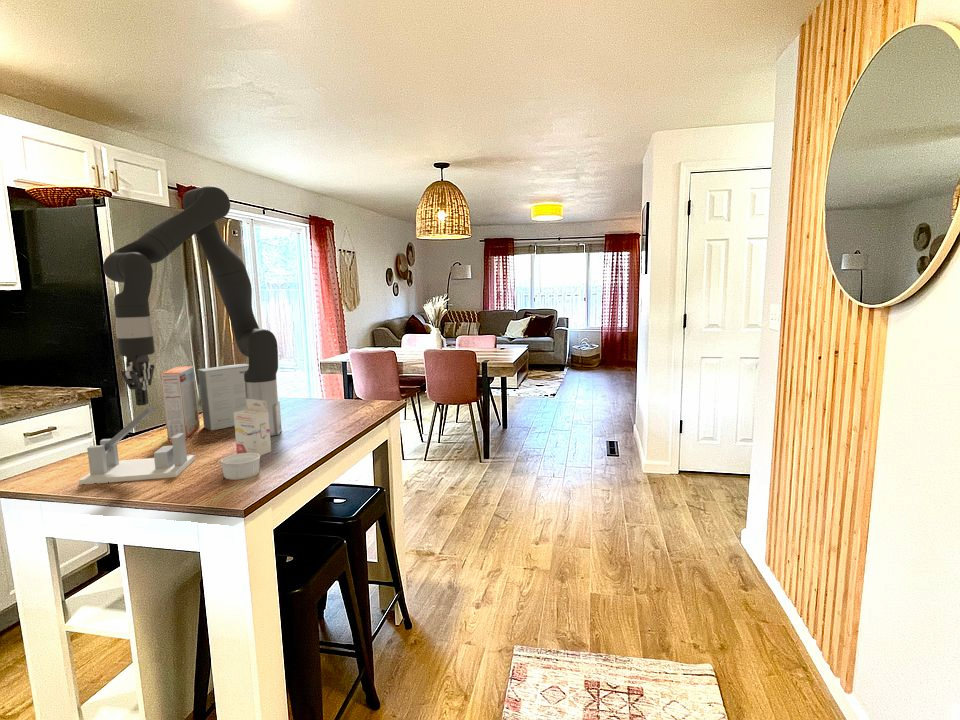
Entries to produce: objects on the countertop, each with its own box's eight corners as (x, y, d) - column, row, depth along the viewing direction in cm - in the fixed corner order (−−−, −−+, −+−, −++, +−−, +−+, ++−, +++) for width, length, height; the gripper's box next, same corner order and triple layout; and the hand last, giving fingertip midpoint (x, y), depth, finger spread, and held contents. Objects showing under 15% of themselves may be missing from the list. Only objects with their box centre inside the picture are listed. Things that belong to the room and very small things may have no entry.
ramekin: (235, 468, 134) (233, 451, 133) (268, 468, 133) (267, 452, 132) (214, 480, 125) (212, 463, 124) (249, 481, 124) (247, 464, 123)
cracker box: (180, 428, 174) (174, 366, 172) (200, 427, 176) (194, 365, 173) (166, 440, 161) (159, 372, 158) (187, 438, 162) (181, 371, 159)
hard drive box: (250, 418, 186) (245, 363, 184) (258, 422, 181) (253, 365, 178) (202, 427, 176) (197, 368, 173) (209, 431, 170) (203, 370, 168)
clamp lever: (157, 410, 133) (150, 403, 133) (151, 413, 130) (144, 406, 129) (106, 454, 132) (99, 448, 132) (99, 459, 129) (92, 452, 128)
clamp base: (195, 459, 141) (192, 428, 140) (176, 477, 128) (172, 442, 127) (108, 465, 137) (104, 433, 136) (79, 484, 124) (74, 449, 123)
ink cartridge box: (235, 453, 146) (231, 401, 144) (250, 448, 150) (246, 398, 148) (258, 457, 142) (253, 404, 140) (272, 451, 147) (268, 400, 145)
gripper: (140, 337, 123) (147, 409, 125) (162, 333, 136) (169, 398, 138) (104, 338, 121) (112, 411, 124) (130, 334, 134) (137, 400, 136)
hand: (142, 404), depth 131 cm, fingers closed
